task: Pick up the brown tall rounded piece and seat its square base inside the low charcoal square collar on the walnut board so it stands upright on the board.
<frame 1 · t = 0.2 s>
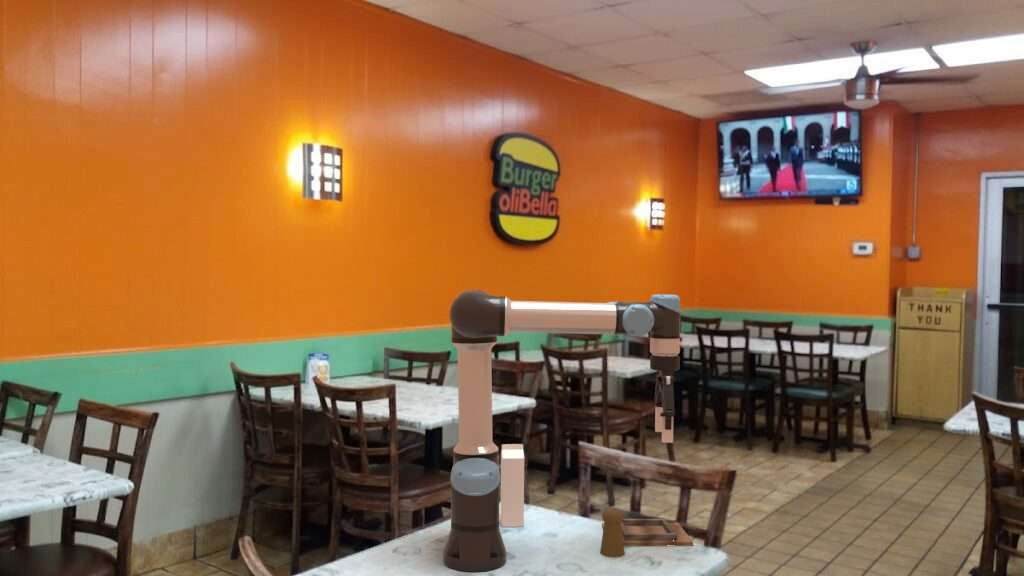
hand: (663, 436, 211), 27 cm above the table, fingers open, 13 cm apart
brown tall rounded piece: (612, 553, 203), on the table
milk: (511, 524, 226), on the table
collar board: (645, 535, 217), on the table
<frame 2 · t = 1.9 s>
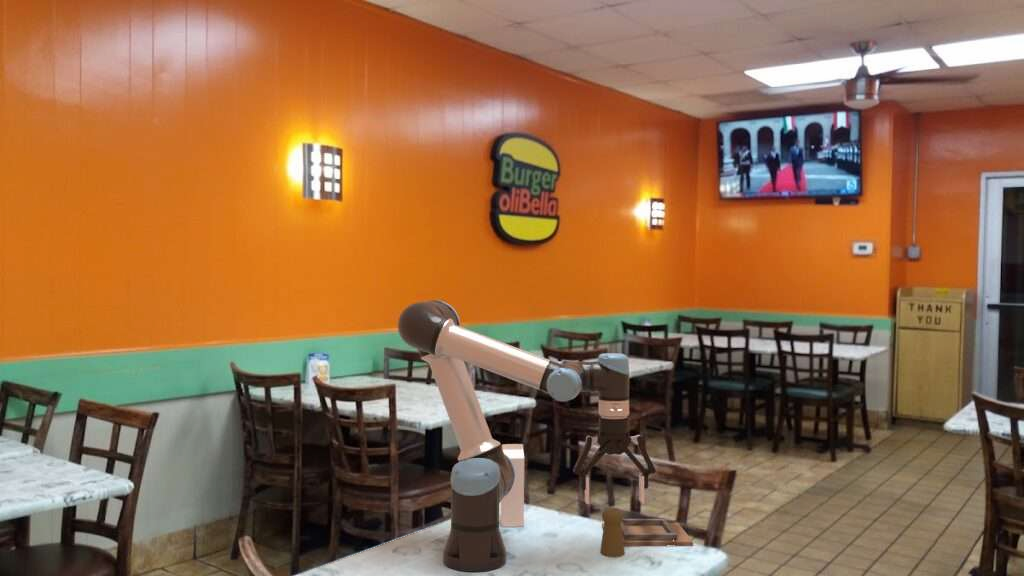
hand: (614, 502, 203), 13 cm above the table, fingers open, 13 cm apart
nothing on the table moved.
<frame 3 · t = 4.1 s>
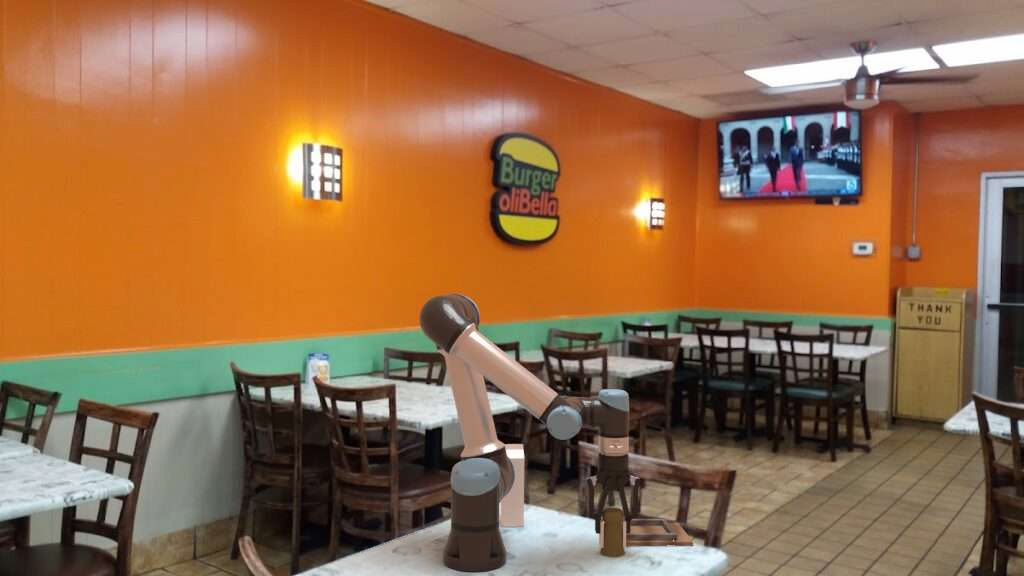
hand: (612, 546, 203), 2 cm above the table, fingers closed on brown tall rounded piece, 5 cm apart
brown tall rounded piece: (612, 553, 203), on the table, touching gripper
everything else where it was.
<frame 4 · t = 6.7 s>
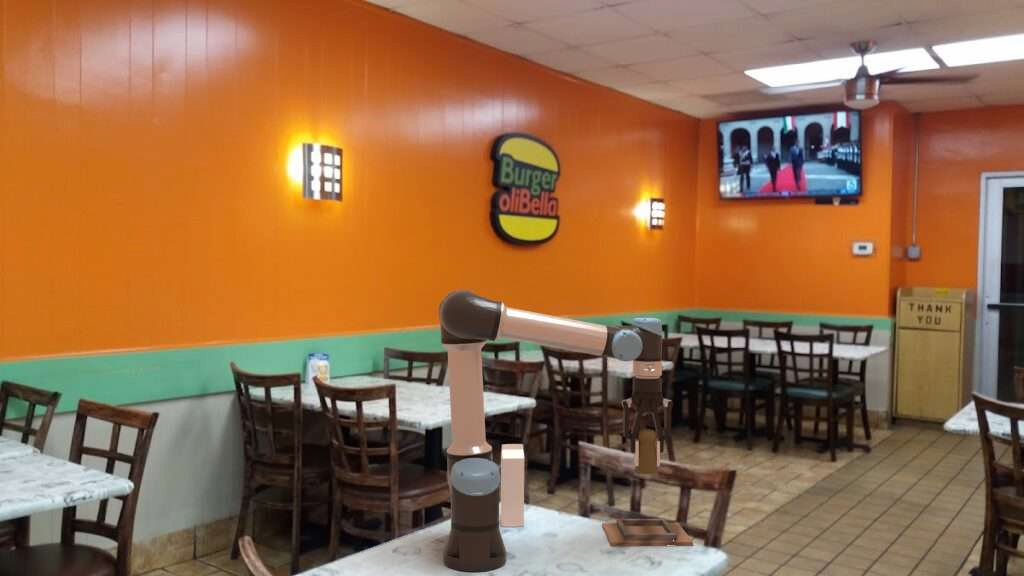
hand: (646, 464, 216), 19 cm above the table, fingers closed on brown tall rounded piece, 5 cm apart
brown tall rounded piece: (646, 472, 216), point 17 cm above the table, touching gripper
everything else where it was.
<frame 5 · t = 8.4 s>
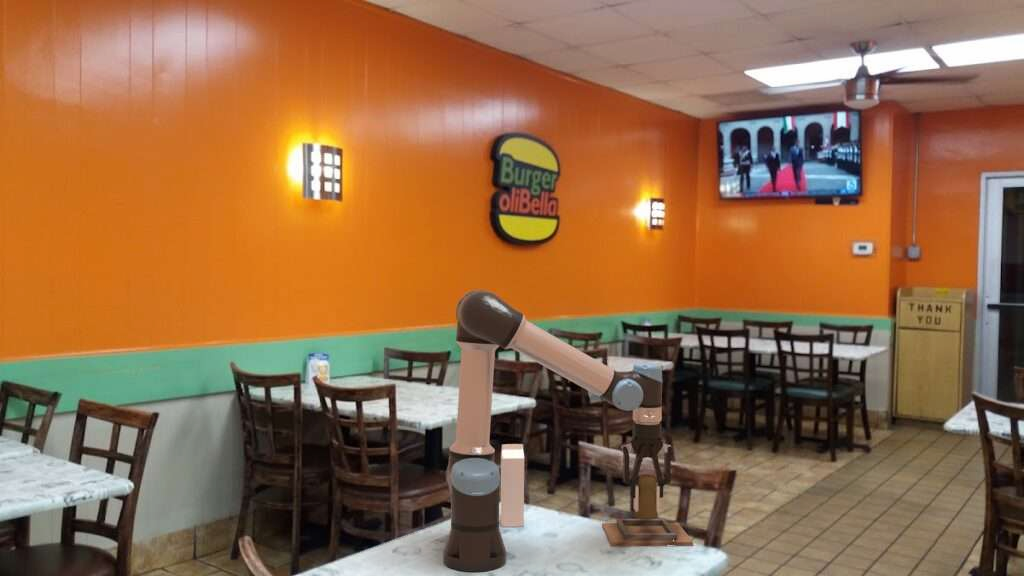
hand: (646, 509, 217), 7 cm above the table, fingers closed on brown tall rounded piece, 5 cm apart
brown tall rounded piece: (646, 517, 217), point 5 cm above the table, touching gripper
everything else where it was.
when the fingers open (4 cm above the table, at t = 9.5 s): brown tall rounded piece drops 1 cm, resting on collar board.
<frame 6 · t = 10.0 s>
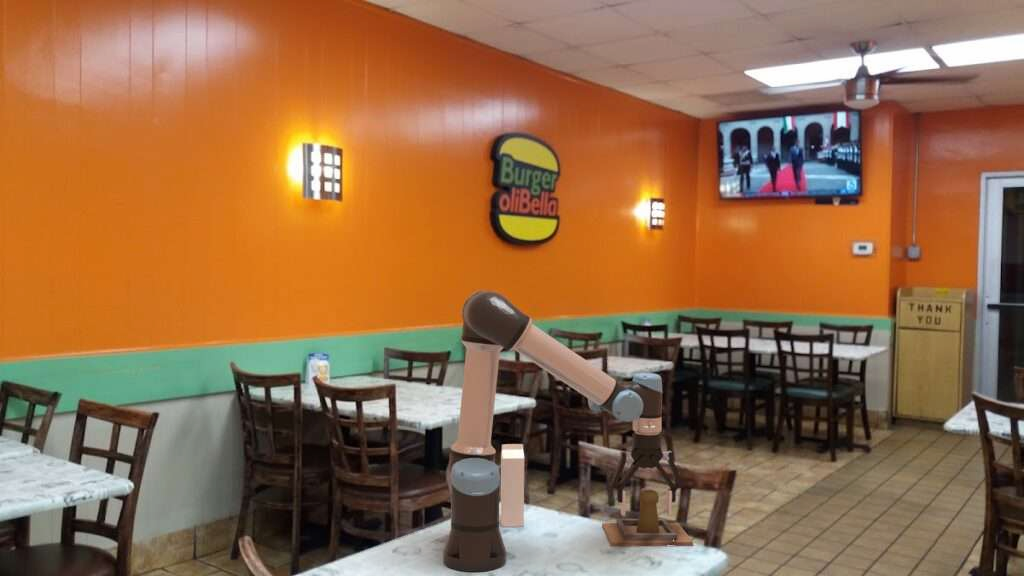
hand: (646, 514, 217), 6 cm above the table, fingers open, 11 cm apart
brown tall rounded piece: (647, 533, 217), point 1 cm above the table, touching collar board
everything else where it was.
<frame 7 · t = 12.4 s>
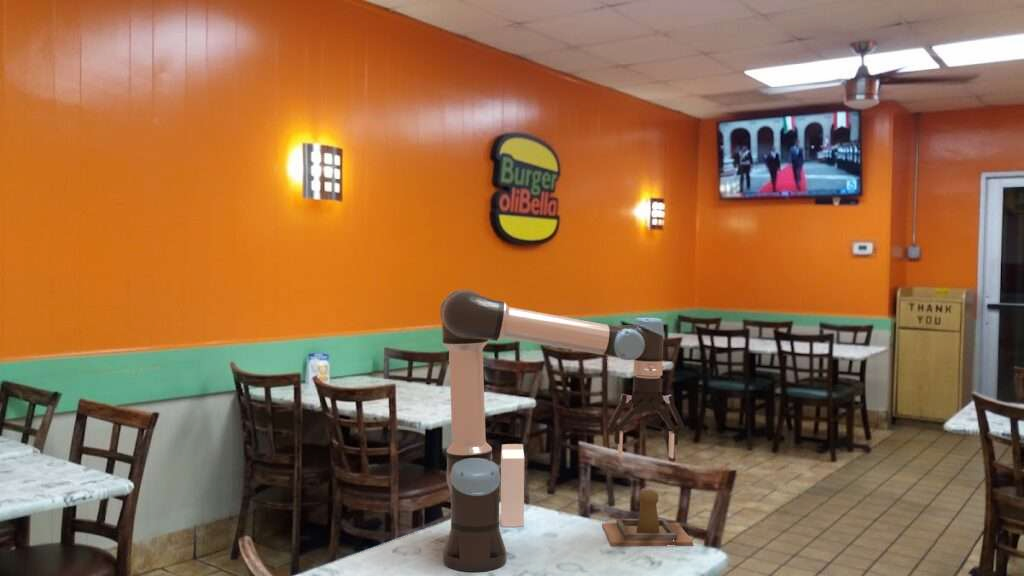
hand: (645, 456, 216), 21 cm above the table, fingers open, 13 cm apart
nothing on the table moved.
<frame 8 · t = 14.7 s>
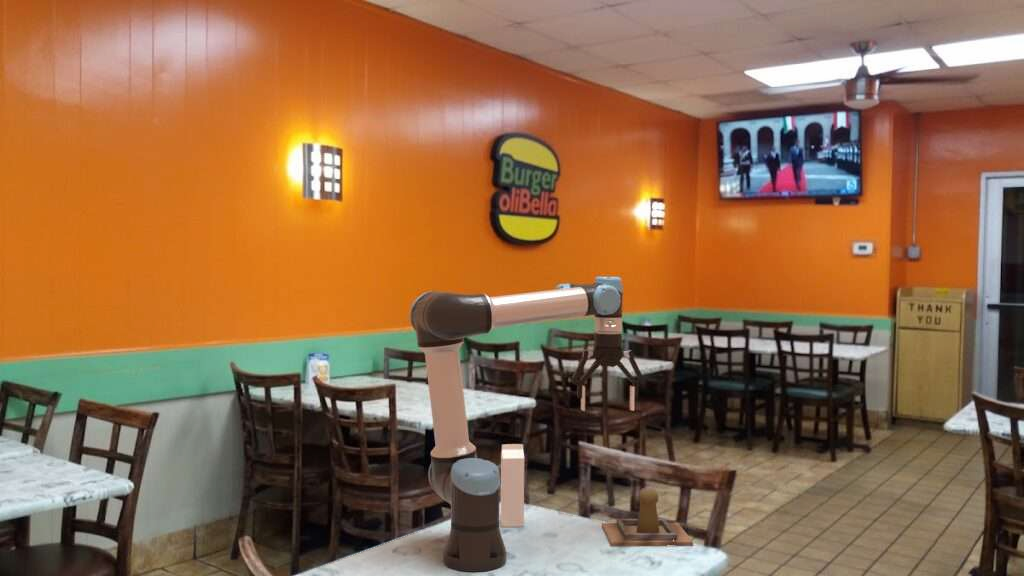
hand: (607, 409, 226), 32 cm above the table, fingers open, 13 cm apart
nothing on the table moved.
at the end: brown tall rounded piece 0.5 cm from the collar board (horizontally); brown tall rounded piece point 0.8 cm above the table; brown tall rounded piece tilted 0° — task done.
